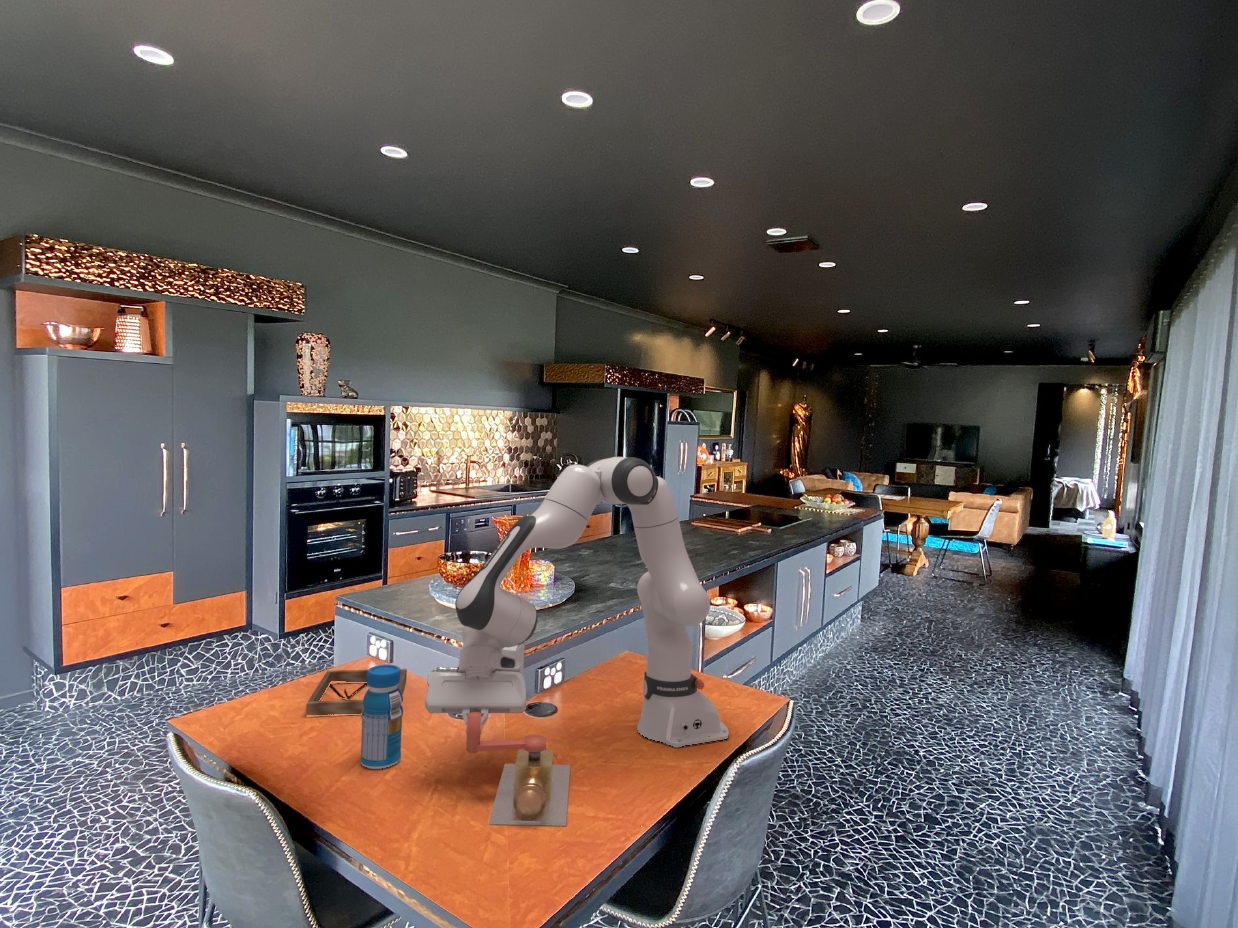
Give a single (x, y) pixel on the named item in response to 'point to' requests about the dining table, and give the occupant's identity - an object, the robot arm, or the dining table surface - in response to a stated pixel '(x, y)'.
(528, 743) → the lever
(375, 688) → the beverage bottle
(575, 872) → the dining table surface
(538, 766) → the valve body
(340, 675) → the glasses tray
